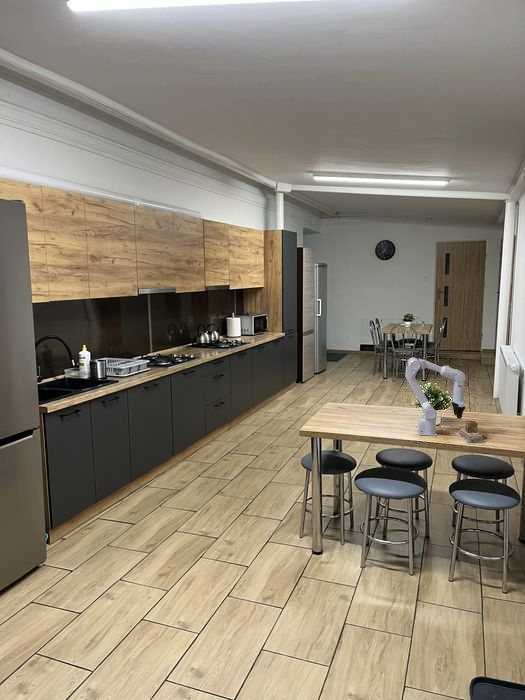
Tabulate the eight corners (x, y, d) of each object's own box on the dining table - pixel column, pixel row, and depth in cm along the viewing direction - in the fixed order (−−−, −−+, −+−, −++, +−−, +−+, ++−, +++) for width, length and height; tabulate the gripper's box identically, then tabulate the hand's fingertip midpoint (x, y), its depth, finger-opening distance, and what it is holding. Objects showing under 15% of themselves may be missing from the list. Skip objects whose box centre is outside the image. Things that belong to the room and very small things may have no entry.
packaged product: (486, 435, 288) (467, 435, 288) (486, 444, 289) (467, 444, 289) (473, 426, 306) (455, 426, 306) (473, 434, 306) (455, 434, 306)
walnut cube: (467, 432, 294) (468, 423, 294) (465, 429, 299) (465, 420, 298) (477, 432, 294) (477, 423, 293) (474, 429, 299) (475, 421, 298)
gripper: (469, 395, 293) (468, 420, 295) (463, 390, 307) (462, 413, 309) (455, 395, 294) (454, 419, 296) (450, 390, 308) (449, 413, 310)
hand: (457, 416), depth 302 cm, fingers open, 7 cm apart
